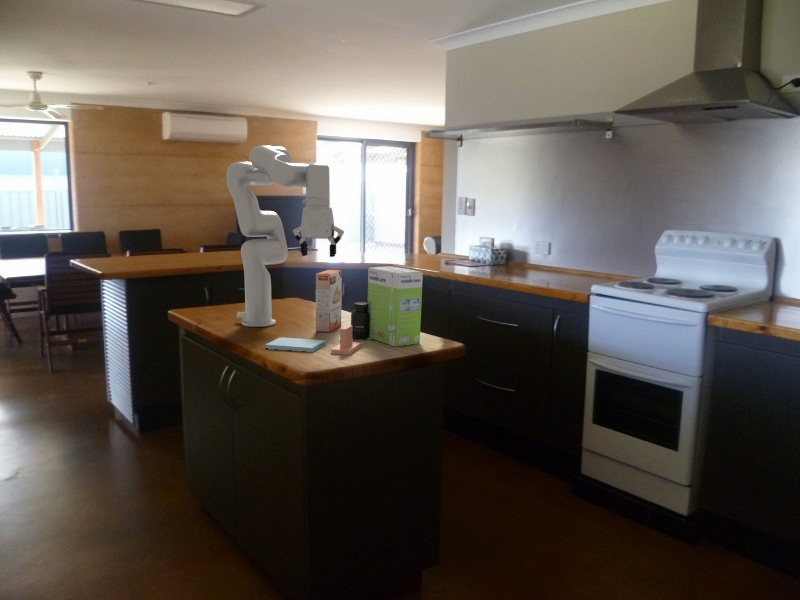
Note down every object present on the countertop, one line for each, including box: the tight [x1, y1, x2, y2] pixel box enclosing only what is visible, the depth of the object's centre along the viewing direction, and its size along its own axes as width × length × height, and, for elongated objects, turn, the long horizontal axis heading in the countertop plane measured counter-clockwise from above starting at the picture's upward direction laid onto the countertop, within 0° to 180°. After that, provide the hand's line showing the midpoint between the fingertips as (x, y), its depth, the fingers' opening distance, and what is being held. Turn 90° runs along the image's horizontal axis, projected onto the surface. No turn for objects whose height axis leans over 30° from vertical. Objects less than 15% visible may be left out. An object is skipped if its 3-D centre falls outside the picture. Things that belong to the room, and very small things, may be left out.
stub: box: [330, 324, 362, 356], centre depth 203 cm, size 6×11×7 cm, turn 166°
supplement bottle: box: [350, 301, 371, 341], centre depth 220 cm, size 7×7×12 cm
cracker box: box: [315, 269, 343, 333], centre depth 234 cm, size 14×6×21 cm, turn 168°
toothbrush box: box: [367, 265, 424, 348], centre depth 215 cm, size 18×10×24 cm, turn 37°
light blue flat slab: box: [264, 336, 327, 353], centre depth 207 cm, size 16×11×1 cm
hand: (318, 256), depth 211 cm, fingers open, 9 cm apart
